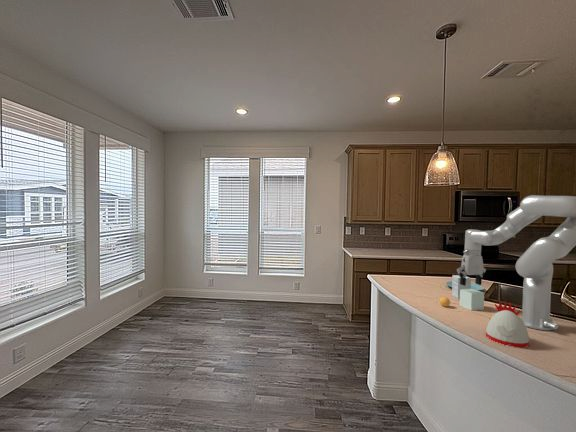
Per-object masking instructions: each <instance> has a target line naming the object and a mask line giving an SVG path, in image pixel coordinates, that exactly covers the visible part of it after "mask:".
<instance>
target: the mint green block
mask: <svg viewBox="0 0 576 432" xmlns="http://www.w3.org/2000/svg"><path fill="white" fill-rule="evenodd" d="M459 306H460V307H462V308H464V309H467V310H470V311H482V310H484V309H485V308H484V307H485V292H483V291H481V290H480V291H477V290H474V289H460V299H459Z"/></svg>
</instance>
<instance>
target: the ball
mask: <svg viewBox="0 0 576 432" xmlns="http://www.w3.org/2000/svg"><path fill="white" fill-rule="evenodd" d="M439 304H440V306H442V307H444V308H447V307H449V306H450V305H451V301H450V299H449V298H448V297H446V296H442V297H441V298H439Z"/></svg>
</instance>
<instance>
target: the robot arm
mask: <svg viewBox="0 0 576 432" xmlns="http://www.w3.org/2000/svg"><path fill="white" fill-rule="evenodd" d="M542 216H545V217H558V218H559V217H561V218H566V219H565V220H564V221H563V222H562V223H561V224H560V225H558V227H557V228H556V229H555V230H554V231H553V232H552V233H551V234H550V235H548V236H545V237H540V238H539V239H537V240H535V241H534V242H533V243H532V244H531V245H530V246H529V247H528V248H527V249H526V250H525V251H524V253H523V254H522V255H520V257H519V258H518V259H517V260H516V263H515V270H516V272H517V274H518V275H519V276H520V277H522V278H523V282H522V283H523V285H522V306H521V307H522V313H521V317H520V318H521V320H522V321H523V323H524V324H525V326H526V328H529V329H534V330H537V331H538V330H540V331H553V330H557V329H558V328H559V326H560V325H559V323H555V322H554V321H553V318H551V300H552V299H551V297H552V296H551V294H552V280H553V275H554V264H553V263H554V262H555V261H556V260H559V259H562V258H564V257H565V256H568V254H569V253H570V252H571V251H572V249H573V248H575V247H576V196H573V195H537V194H536V195H535V194H531V195H527V196H525V197H524V198H523V199H522V200H521V201H520V203H519V206H518V207H516V208H515V209H514V210H512V211H511V212H509V213H507V215H506V220H505V221H504V222H503V223H502V224H501V225H499V226H498V227H496V228H495V229H493V230H480V229H471V228H470V229H467V230H465V234H464V249H463V251H462V253H463V255H462V259H461V265H460V267H458V268H456V272H457V275H459V277H460V284H461V285H464V286H465V285H466V278H465V277H466V276H467V275H468V276H475V283H474V284H478V285H481V286H482V280H483V279H482V278H483V277H484V275H485V273H486V271H487V269H486V268H485V267H484V260H483V256H482V246H486V247H487V246H496V245H497V246H498V245H500V244H502V243H504V242H506V241H508V240H509V239H511V238H512V237H514V236H515V235H517V234H518V233H519V232H521V230H522V229H524V228H525V227H527V226H528V225H530V224H531V223H533V222H534V221H536V220H538V219H539V218H541V217H542ZM468 276H467V277H468Z"/></svg>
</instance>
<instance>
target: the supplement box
mask: <svg viewBox="0 0 576 432" xmlns="http://www.w3.org/2000/svg"><path fill="white" fill-rule="evenodd" d="M465 278H466V285H465V286H464V285H461V284H460V277H459V275H458V274H456V275H455V274H452V278H451V279H452V280H451V281H452V288H451V296H452V297H454V298H455V299H456V300H460V289H471V283H472V279H471V277H469V276H466V277H465Z"/></svg>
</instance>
